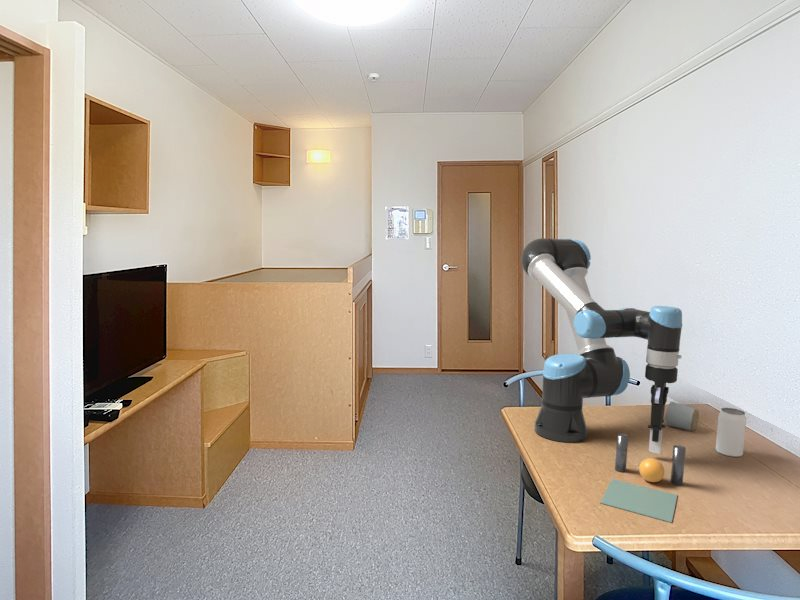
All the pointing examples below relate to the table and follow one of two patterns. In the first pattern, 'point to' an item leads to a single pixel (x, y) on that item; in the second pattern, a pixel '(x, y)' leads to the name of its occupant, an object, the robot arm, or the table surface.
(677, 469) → the post right
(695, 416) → the grey lying cylinder
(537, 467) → the table surface
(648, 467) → the ball
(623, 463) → the post left
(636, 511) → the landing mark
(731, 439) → the can
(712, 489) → the table surface
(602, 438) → the table surface
